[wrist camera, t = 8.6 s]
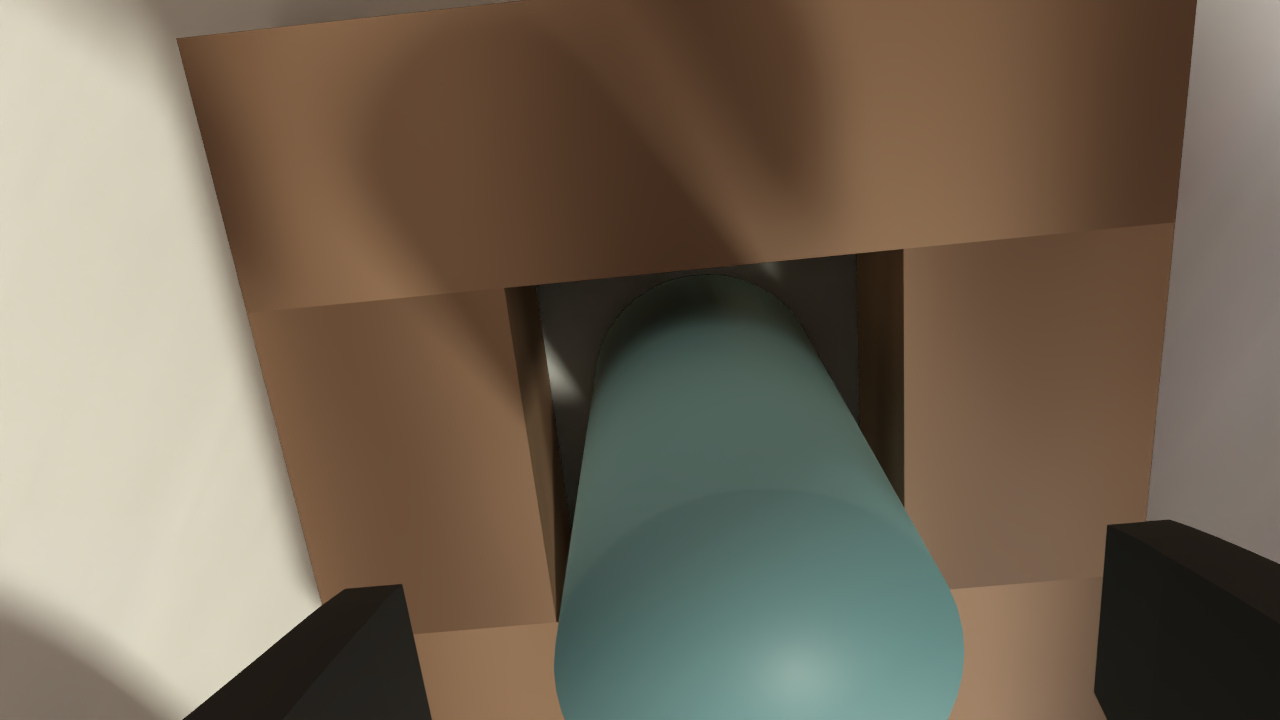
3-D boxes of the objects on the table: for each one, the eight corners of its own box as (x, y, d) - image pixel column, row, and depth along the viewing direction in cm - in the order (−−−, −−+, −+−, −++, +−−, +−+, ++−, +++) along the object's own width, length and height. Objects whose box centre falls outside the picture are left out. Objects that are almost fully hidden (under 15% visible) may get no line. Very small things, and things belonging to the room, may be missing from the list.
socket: (1090, -51, 14) (1204, -75, 11) (1047, 647, 18) (1122, 759, 15) (268, 39, 14) (176, 38, 12) (416, 699, 19) (376, 815, 16)
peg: (808, 262, 16) (965, 466, 8) (820, 468, 17) (964, 811, 9) (581, 287, 16) (522, 512, 8) (610, 490, 17) (583, 844, 9)
